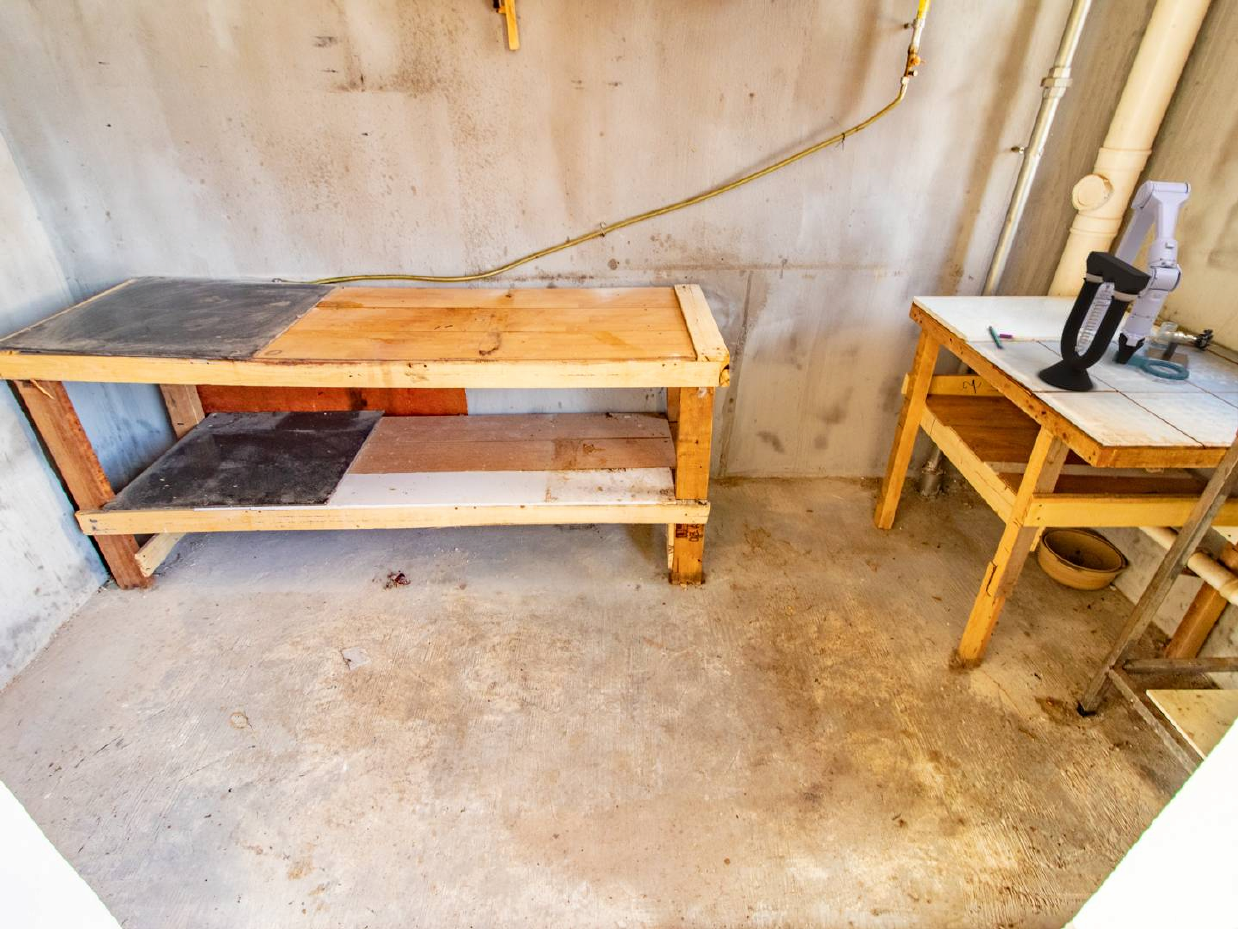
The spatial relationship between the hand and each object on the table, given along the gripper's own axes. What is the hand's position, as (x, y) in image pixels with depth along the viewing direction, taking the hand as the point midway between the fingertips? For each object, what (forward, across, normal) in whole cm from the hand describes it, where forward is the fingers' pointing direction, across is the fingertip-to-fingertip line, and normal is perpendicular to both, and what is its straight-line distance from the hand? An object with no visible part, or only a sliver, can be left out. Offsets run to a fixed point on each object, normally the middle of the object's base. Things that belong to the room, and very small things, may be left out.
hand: (1120, 362), depth 175 cm
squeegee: (+1, 0, +29) cm, 29 cm away
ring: (+1, 0, -6) cm, 6 cm away
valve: (+1, +25, -12) cm, 28 cm away
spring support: (+1, -19, +11) cm, 22 cm away
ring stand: (+1, +13, -10) cm, 16 cm away
